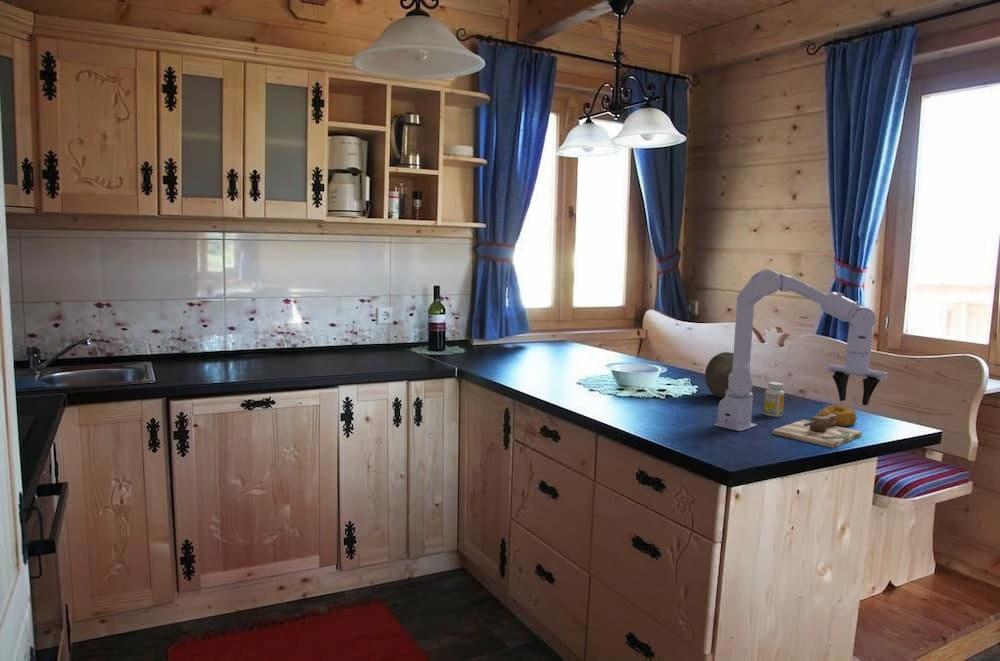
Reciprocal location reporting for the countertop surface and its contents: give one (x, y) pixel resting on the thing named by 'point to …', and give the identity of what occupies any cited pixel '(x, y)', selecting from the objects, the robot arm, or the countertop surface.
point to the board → (817, 434)
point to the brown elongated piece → (821, 422)
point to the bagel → (840, 414)
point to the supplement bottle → (774, 400)
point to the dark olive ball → (719, 373)
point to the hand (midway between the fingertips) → (853, 402)
